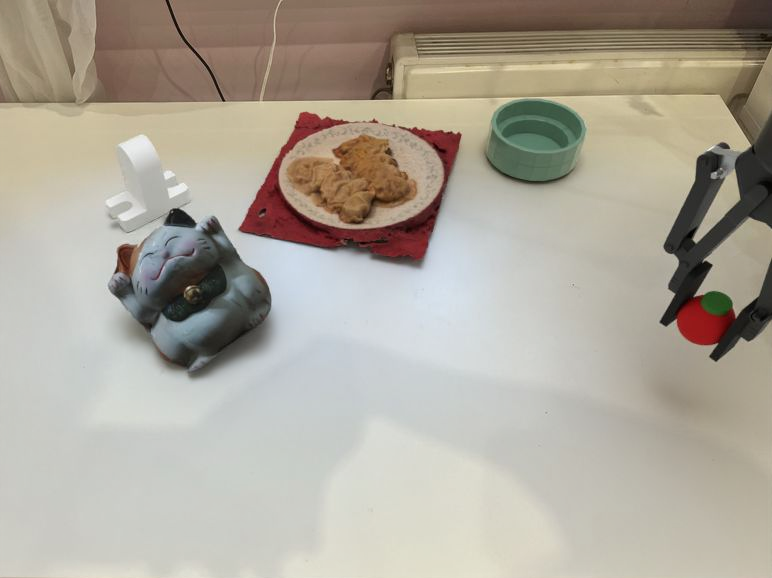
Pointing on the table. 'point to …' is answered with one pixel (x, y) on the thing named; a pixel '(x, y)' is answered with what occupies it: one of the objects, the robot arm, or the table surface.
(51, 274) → the table surface
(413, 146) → the plate with food
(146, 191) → the cable organizer
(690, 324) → the tomato
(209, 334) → the lucky cat figurine
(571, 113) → the bowl
